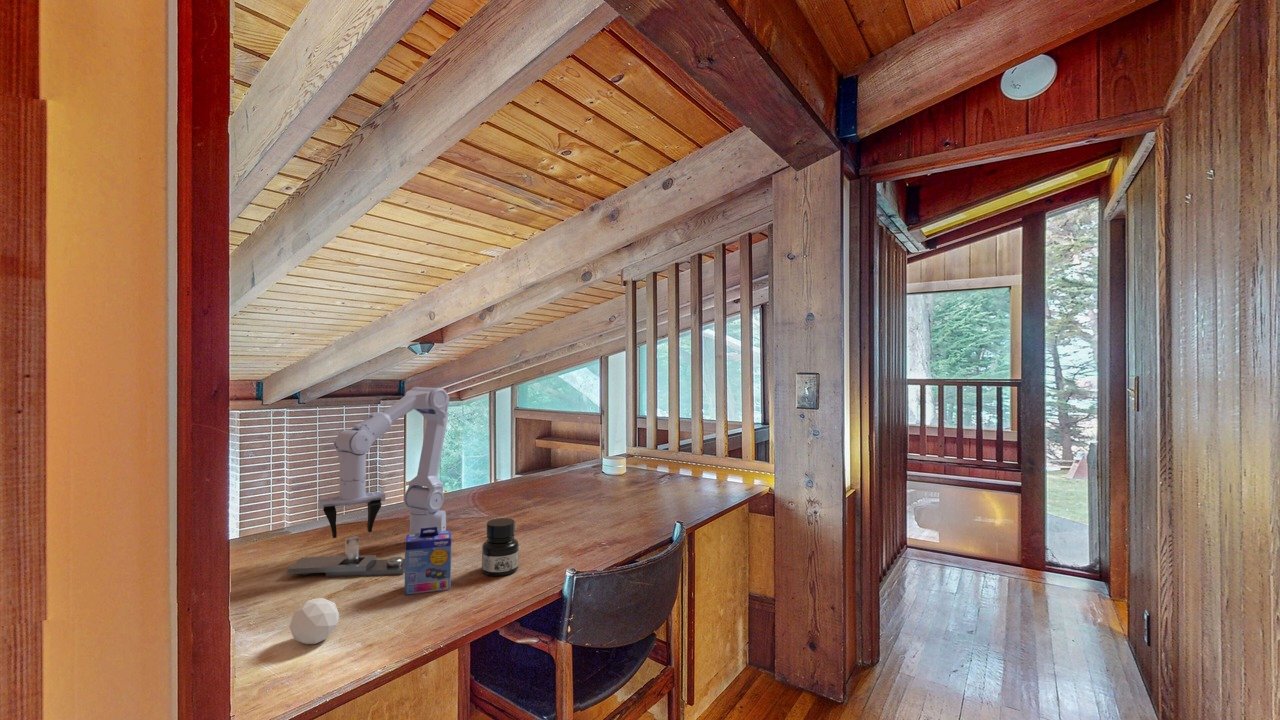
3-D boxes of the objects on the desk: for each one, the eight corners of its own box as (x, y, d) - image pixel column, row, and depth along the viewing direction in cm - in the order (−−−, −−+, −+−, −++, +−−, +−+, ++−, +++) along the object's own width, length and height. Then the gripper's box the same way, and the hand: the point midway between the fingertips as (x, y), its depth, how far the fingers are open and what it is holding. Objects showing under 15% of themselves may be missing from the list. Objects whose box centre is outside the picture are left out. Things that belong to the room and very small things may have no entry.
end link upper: (376, 564, 135) (376, 555, 135) (365, 575, 128) (365, 565, 128) (302, 567, 133) (302, 557, 133) (287, 578, 126) (287, 568, 126)
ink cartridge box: (403, 596, 118) (404, 531, 118) (405, 586, 123) (406, 523, 123) (451, 590, 121) (452, 526, 121) (450, 580, 126) (451, 519, 126)
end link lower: (411, 563, 136) (411, 553, 136) (402, 574, 129) (402, 564, 129) (338, 565, 134) (338, 556, 134) (325, 577, 127) (325, 567, 127)
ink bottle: (479, 579, 127) (480, 529, 127) (480, 565, 136) (480, 518, 136) (521, 575, 130) (521, 526, 130) (519, 561, 138) (519, 515, 138)
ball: (307, 662, 97) (280, 639, 93) (306, 628, 103) (280, 606, 99) (349, 635, 99) (324, 612, 95) (345, 604, 106) (321, 581, 101)
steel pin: (357, 567, 133) (358, 535, 133) (359, 571, 131) (359, 538, 131) (344, 569, 131) (344, 537, 131) (345, 574, 129) (346, 541, 129)
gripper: (382, 472, 138) (381, 524, 138) (316, 479, 130) (316, 534, 130) (387, 477, 133) (386, 531, 133) (319, 485, 124) (319, 543, 124)
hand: (352, 533), depth 131 cm, fingers open, 7 cm apart
